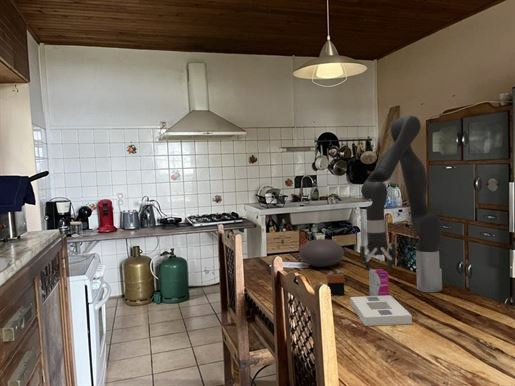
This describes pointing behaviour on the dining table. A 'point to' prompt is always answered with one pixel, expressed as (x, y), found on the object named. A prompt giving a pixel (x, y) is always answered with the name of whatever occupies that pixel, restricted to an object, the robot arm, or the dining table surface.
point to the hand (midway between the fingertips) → (378, 269)
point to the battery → (336, 282)
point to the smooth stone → (321, 252)
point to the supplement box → (378, 282)
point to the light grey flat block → (380, 310)
